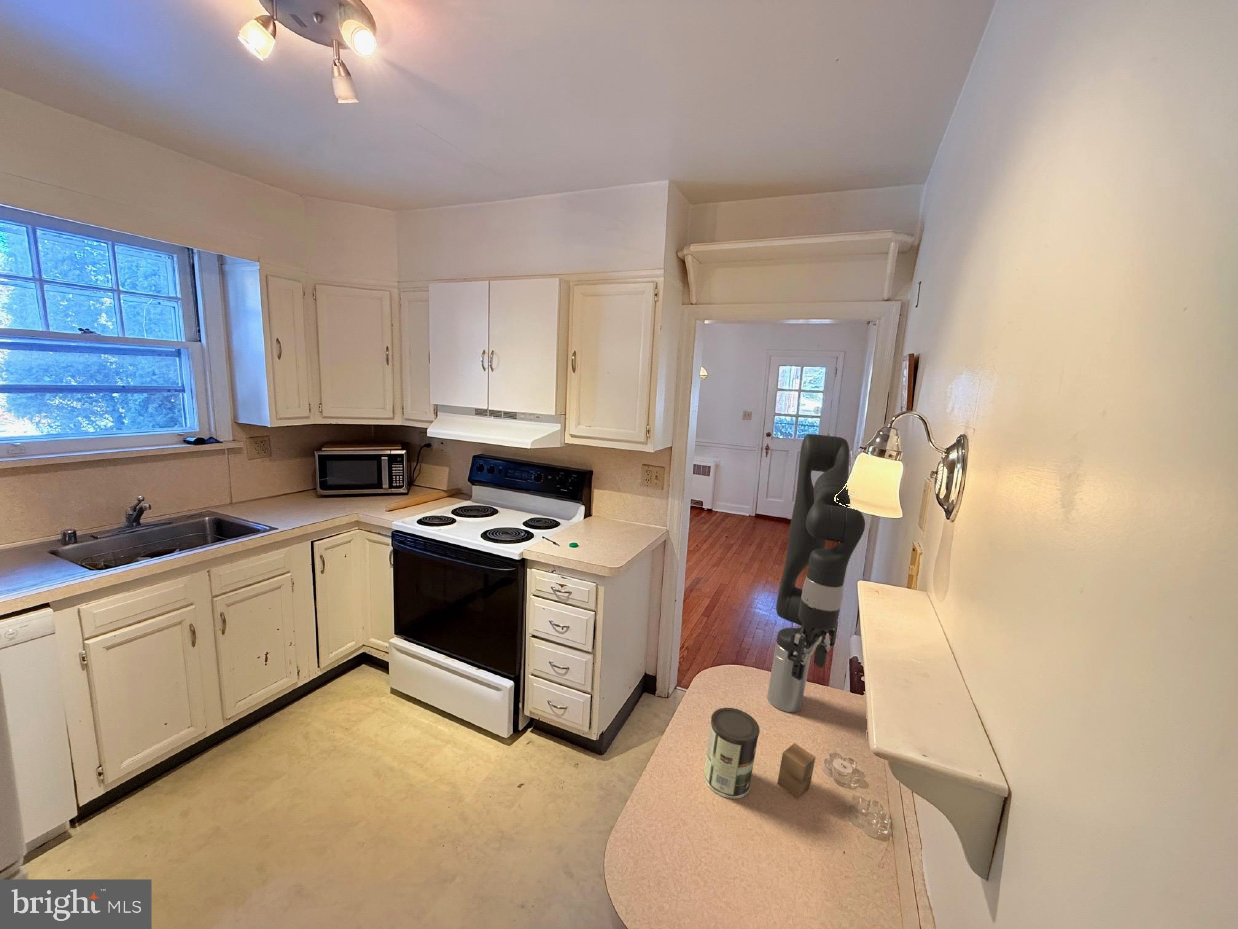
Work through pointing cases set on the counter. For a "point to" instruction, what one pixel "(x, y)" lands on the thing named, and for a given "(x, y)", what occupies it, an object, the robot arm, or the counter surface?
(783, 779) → the walnut block
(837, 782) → the counter surface
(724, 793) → the coffee can
